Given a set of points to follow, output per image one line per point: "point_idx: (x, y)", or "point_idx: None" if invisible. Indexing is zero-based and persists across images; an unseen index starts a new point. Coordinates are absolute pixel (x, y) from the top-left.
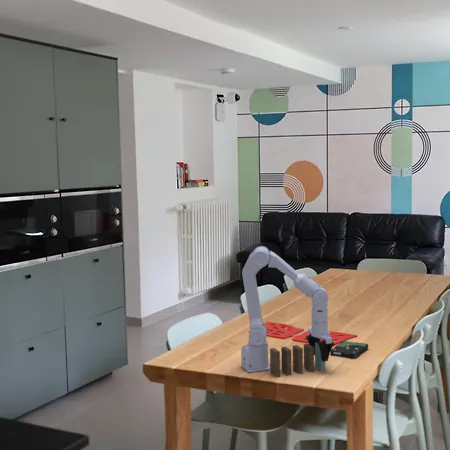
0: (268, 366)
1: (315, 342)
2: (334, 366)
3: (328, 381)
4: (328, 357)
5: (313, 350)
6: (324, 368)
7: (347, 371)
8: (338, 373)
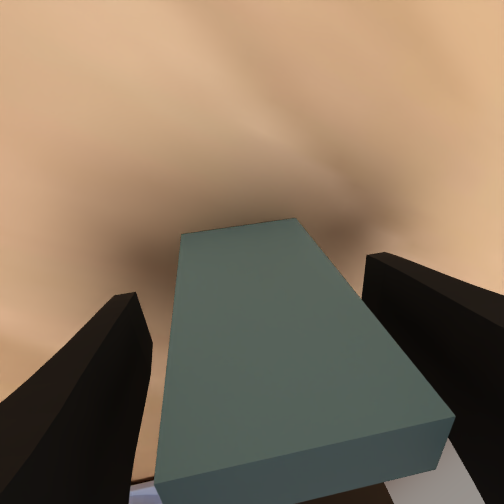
0: (151, 494)
1: (83, 501)
2: (217, 82)
3: (492, 268)
4: (419, 267)
5: (382, 482)
6: (300, 229)
7: (413, 12)
8: (411, 138)
